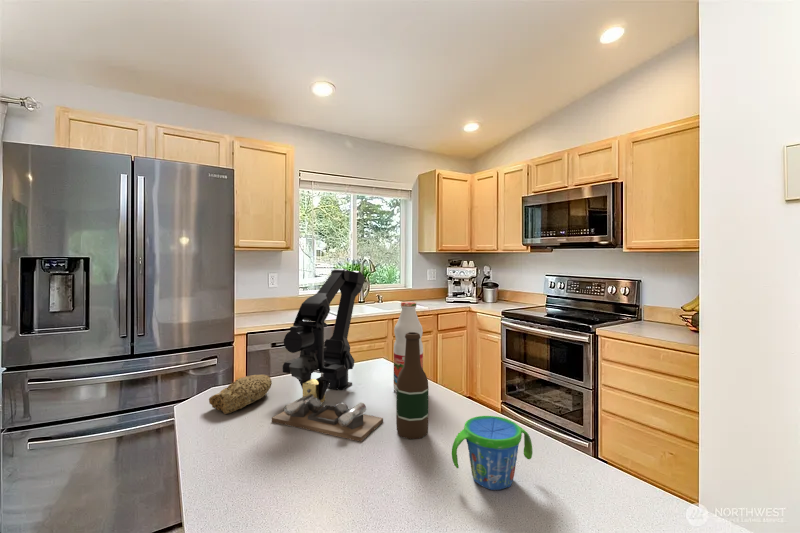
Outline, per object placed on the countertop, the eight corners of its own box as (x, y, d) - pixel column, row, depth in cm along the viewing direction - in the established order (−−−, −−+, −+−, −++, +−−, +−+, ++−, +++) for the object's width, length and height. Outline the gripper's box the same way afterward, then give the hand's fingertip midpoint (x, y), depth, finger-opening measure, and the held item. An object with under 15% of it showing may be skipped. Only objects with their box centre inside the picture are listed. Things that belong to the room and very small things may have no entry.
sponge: (233, 422, 99) (289, 385, 116) (224, 395, 98) (281, 361, 115) (205, 420, 106) (261, 385, 122) (196, 394, 105) (254, 363, 122)
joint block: (312, 398, 112) (312, 378, 112) (325, 400, 111) (325, 380, 111) (302, 404, 108) (301, 383, 108) (315, 406, 106) (314, 385, 106)
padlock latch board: (300, 405, 107) (300, 393, 107) (383, 421, 96) (383, 408, 96) (271, 421, 96) (271, 408, 96) (360, 441, 86) (361, 426, 86)
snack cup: (458, 500, 65) (459, 441, 65) (445, 466, 76) (445, 416, 76) (545, 495, 67) (545, 438, 67) (520, 463, 77) (520, 413, 77)
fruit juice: (425, 386, 123) (426, 301, 123) (419, 396, 114) (419, 304, 114) (398, 383, 126) (398, 300, 125) (389, 393, 117) (389, 303, 116)
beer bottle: (426, 441, 86) (426, 337, 86) (392, 438, 88) (393, 335, 87) (430, 426, 94) (430, 330, 93) (399, 424, 95) (399, 329, 95)
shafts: (306, 404, 103) (306, 391, 103) (366, 415, 96) (366, 401, 96) (284, 416, 95) (284, 402, 95) (347, 430, 88) (347, 414, 88)
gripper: (268, 347, 105) (268, 403, 105) (324, 354, 98) (324, 414, 98) (294, 339, 115) (294, 390, 116) (347, 345, 108) (347, 399, 108)
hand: (313, 398), depth 109 cm, fingers closed on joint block, 4 cm apart
